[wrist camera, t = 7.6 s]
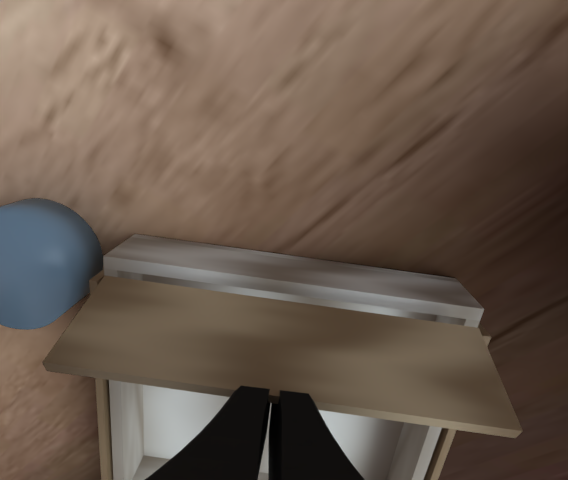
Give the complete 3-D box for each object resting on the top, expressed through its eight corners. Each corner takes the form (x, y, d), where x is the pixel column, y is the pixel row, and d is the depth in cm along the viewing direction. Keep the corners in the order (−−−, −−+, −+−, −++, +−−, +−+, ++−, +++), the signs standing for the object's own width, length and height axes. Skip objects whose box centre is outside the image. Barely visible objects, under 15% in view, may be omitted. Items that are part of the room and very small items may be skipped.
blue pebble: (87, 194, 15) (48, 209, 13) (114, 299, 17) (83, 328, 15) (-20, 201, 16) (-76, 215, 13) (16, 302, 17) (-28, 330, 15)
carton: (467, 280, 15) (500, 313, 13) (397, 492, 20) (411, 549, 17) (123, 232, 16) (87, 255, 13) (129, 453, 20) (102, 503, 17)
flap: (478, 327, 12) (522, 431, 9) (473, 335, 12) (515, 438, 10) (104, 275, 12) (42, 362, 10) (107, 283, 12) (46, 370, 10)
